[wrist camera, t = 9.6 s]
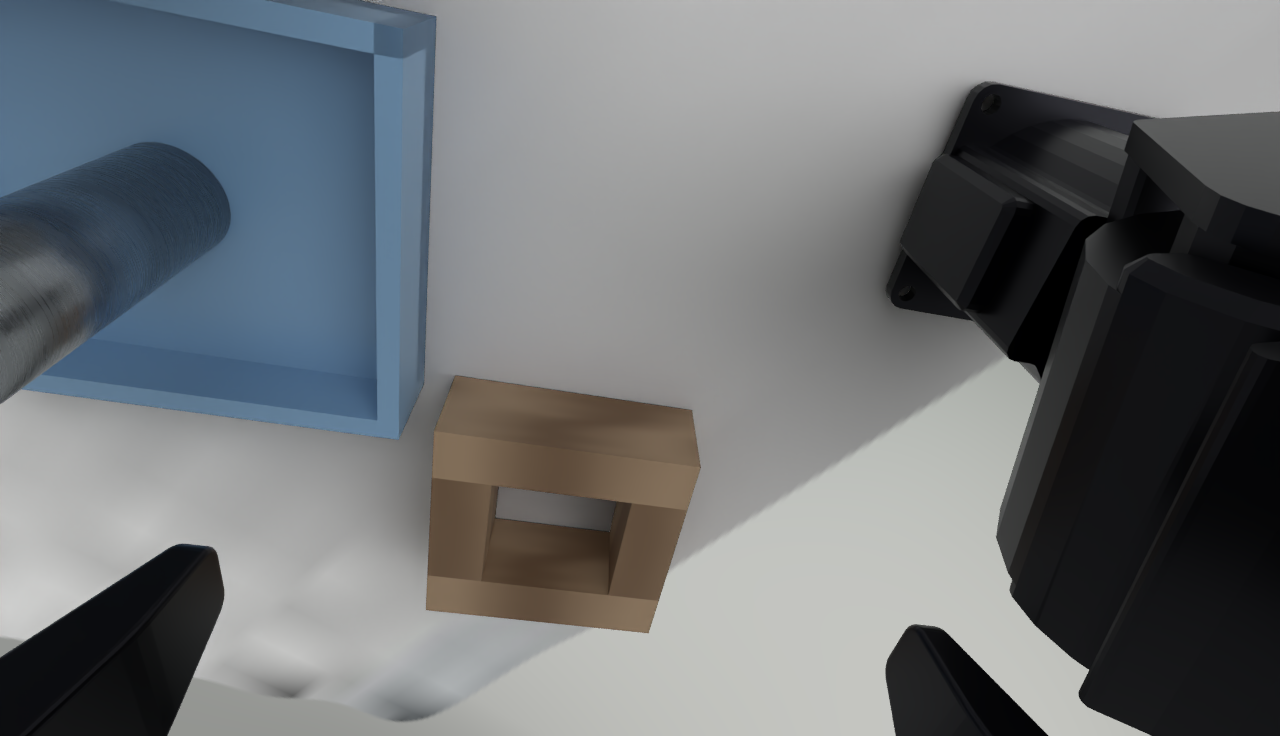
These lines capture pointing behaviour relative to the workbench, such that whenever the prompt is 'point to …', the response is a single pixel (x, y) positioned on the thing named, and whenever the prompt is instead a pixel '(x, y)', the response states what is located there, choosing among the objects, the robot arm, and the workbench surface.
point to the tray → (248, 195)
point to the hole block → (563, 464)
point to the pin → (97, 249)
